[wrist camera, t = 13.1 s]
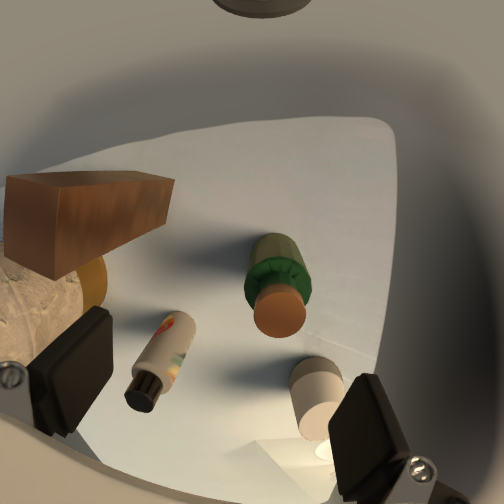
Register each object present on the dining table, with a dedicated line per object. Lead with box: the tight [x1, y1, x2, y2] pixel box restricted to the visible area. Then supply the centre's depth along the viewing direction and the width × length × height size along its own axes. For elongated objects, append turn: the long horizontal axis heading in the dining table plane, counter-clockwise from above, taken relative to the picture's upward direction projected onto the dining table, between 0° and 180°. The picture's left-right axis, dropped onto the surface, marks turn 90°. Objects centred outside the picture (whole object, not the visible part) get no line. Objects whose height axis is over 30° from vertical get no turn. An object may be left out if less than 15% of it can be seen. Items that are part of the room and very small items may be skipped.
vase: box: [0, 241, 107, 367], centre depth 31 cm, size 18×18×30 cm
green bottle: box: [244, 233, 312, 310], centre depth 35 cm, size 7×7×17 cm
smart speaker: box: [289, 357, 345, 441], centre depth 41 cm, size 10×9×14 cm
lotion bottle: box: [124, 311, 196, 413], centre depth 37 cm, size 6×6×20 cm
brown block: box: [3, 171, 175, 281], centre depth 29 cm, size 7×7×26 cm
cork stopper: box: [254, 284, 306, 338], centre depth 27 cm, size 5×5×5 cm
